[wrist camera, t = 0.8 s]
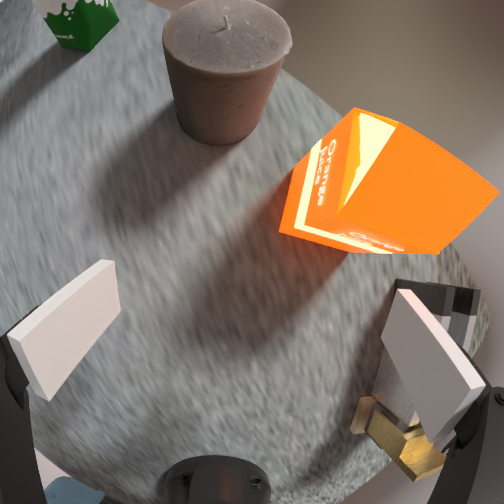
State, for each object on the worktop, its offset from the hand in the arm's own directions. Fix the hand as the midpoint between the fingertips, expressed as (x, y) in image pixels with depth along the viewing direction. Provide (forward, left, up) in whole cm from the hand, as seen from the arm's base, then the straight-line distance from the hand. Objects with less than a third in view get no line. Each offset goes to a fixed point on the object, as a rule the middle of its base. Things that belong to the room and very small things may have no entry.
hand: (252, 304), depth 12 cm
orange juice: (+8, -9, -17) cm, 21 cm away
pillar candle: (+18, +4, -17) cm, 25 cm away
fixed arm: (-7, -21, -17) cm, 28 cm away
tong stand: (-18, -24, -17) cm, 34 cm away
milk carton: (+32, +27, -17) cm, 45 cm away
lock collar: (-17, -22, -14) cm, 31 cm away
